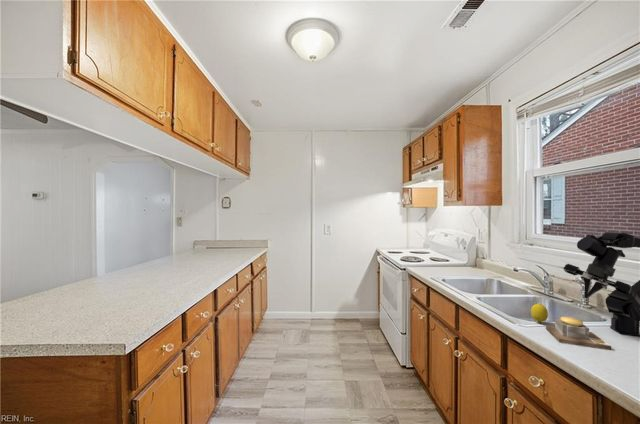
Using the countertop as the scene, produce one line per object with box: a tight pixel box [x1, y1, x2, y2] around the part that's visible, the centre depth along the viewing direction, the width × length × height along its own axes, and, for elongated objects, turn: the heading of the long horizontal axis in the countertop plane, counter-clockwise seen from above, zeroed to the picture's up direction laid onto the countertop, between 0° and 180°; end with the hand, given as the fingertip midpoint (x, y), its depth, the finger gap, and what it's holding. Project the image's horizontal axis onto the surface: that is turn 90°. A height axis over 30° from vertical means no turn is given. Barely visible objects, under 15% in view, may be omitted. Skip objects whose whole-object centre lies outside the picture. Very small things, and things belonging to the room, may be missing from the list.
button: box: [560, 316, 584, 327], centre depth 103 cm, size 6×6×5 cm
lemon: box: [530, 302, 549, 324], centre depth 116 cm, size 6×6×8 cm
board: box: [545, 318, 612, 351], centre depth 102 cm, size 14×12×5 cm
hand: (585, 298), depth 108 cm, fingers closed
